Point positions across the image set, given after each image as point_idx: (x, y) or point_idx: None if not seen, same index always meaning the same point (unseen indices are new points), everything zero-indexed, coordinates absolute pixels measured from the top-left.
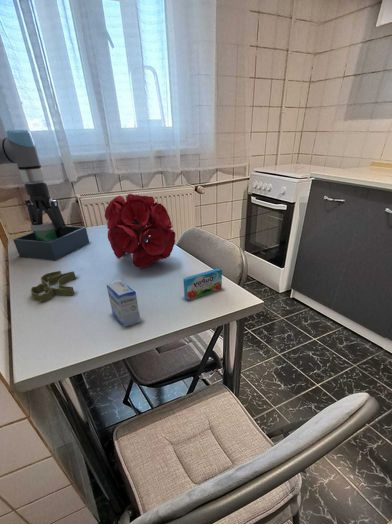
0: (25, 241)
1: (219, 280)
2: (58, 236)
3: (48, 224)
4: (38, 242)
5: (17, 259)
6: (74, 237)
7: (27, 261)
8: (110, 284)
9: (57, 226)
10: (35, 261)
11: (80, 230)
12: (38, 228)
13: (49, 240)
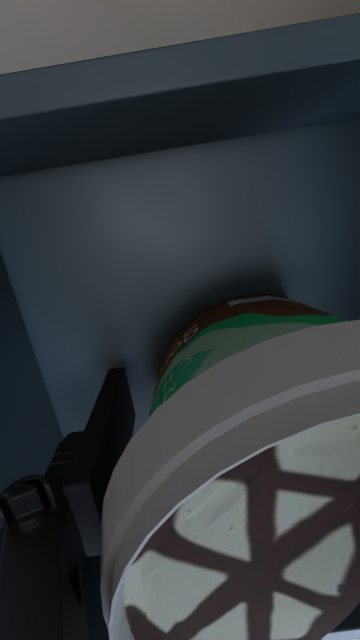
0: (296, 32)
1: None
2: (84, 432)
3: (132, 549)
4: (10, 79)
5: (341, 12)
6: None
7: (189, 14)
8: None
9: (2, 561)
10: (111, 54)
11: None
12: (270, 374)
13: (182, 356)
